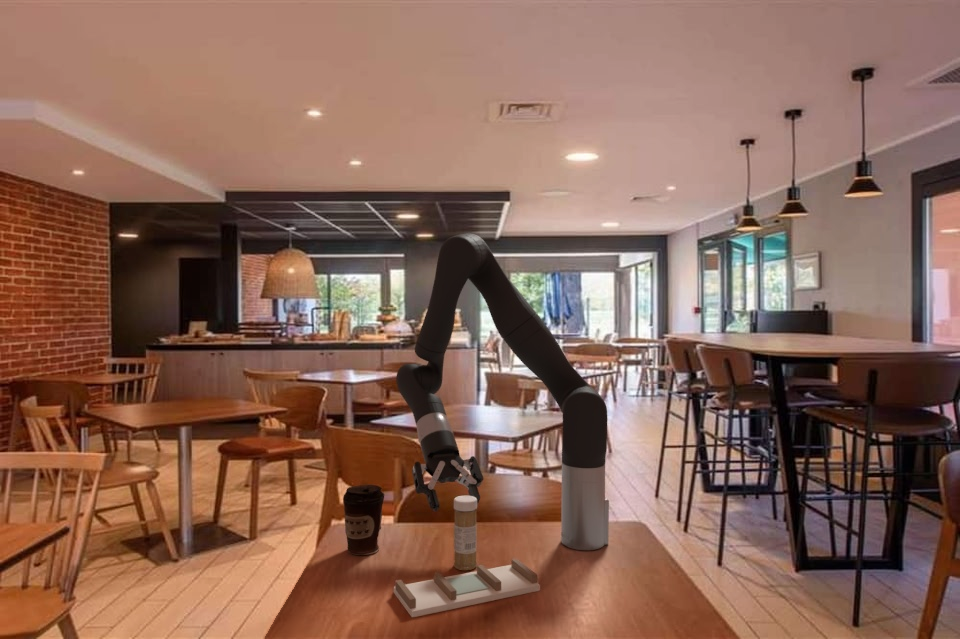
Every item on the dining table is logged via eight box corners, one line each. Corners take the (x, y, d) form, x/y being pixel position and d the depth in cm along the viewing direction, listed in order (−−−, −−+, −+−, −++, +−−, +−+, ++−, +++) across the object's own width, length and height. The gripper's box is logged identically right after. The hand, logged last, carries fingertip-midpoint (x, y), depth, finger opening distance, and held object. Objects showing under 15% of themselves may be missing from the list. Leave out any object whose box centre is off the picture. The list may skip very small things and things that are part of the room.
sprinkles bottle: (474, 561, 126) (474, 493, 126) (479, 570, 122) (479, 500, 122) (451, 563, 125) (451, 495, 125) (455, 572, 121) (456, 502, 121)
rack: (513, 569, 122) (513, 556, 122) (539, 590, 113) (539, 576, 113) (393, 592, 112) (393, 578, 112) (412, 617, 103) (412, 602, 103)
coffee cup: (374, 560, 126) (374, 495, 126) (335, 557, 128) (335, 493, 128) (389, 544, 135) (389, 483, 134) (352, 541, 136) (352, 481, 136)
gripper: (409, 431, 132) (428, 501, 122) (471, 426, 138) (494, 493, 128) (401, 451, 137) (418, 520, 127) (462, 445, 143) (483, 511, 133)
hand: (456, 506), depth 127 cm, fingers open, 8 cm apart
